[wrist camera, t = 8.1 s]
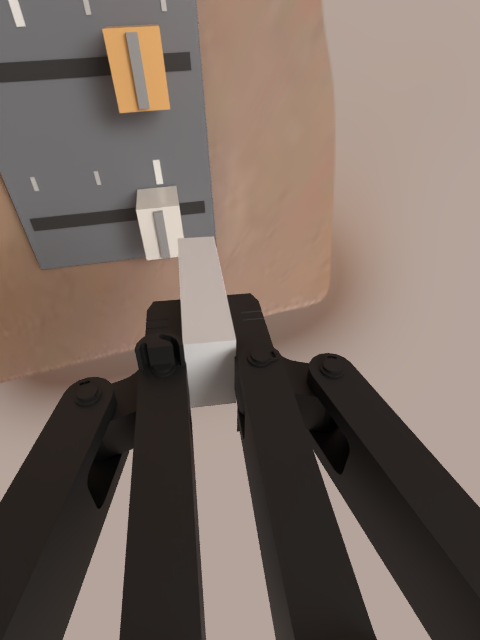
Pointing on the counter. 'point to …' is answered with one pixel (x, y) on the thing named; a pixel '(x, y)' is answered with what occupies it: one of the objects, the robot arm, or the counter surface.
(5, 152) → the fader board
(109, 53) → the orange fader
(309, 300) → the counter surface
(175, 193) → the cream fader
